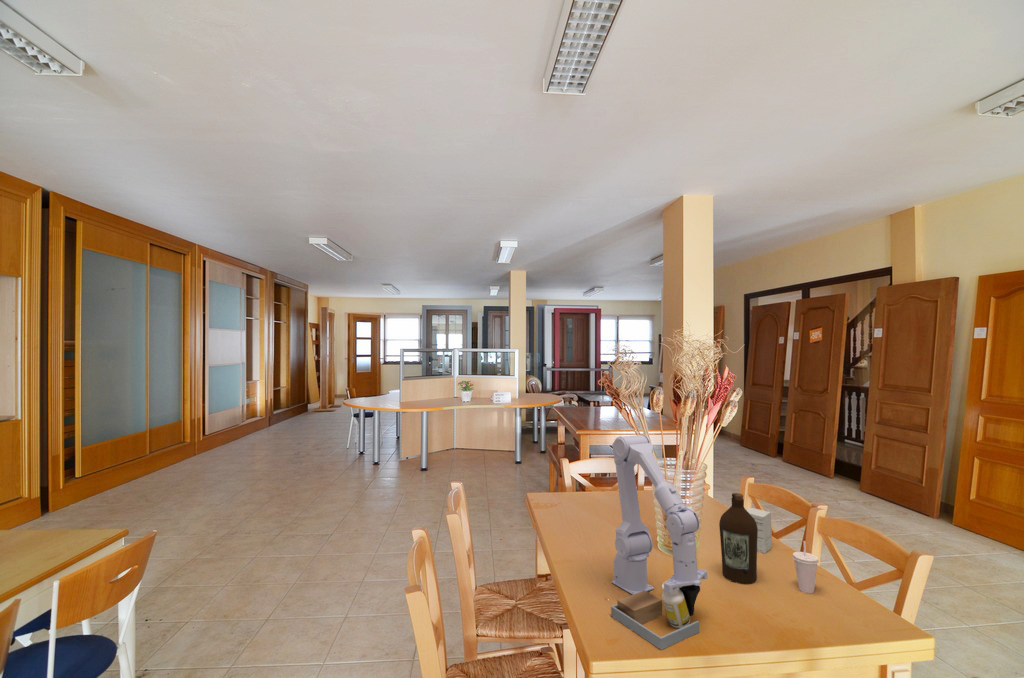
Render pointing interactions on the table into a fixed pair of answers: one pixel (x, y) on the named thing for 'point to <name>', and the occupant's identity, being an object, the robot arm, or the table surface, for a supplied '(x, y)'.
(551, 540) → the table surface
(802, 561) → the smoothie
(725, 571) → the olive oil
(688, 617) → the supplement bottle
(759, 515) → the supplement box
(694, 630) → the grey bracket
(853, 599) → the table surface
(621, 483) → the robot arm
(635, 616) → the block
